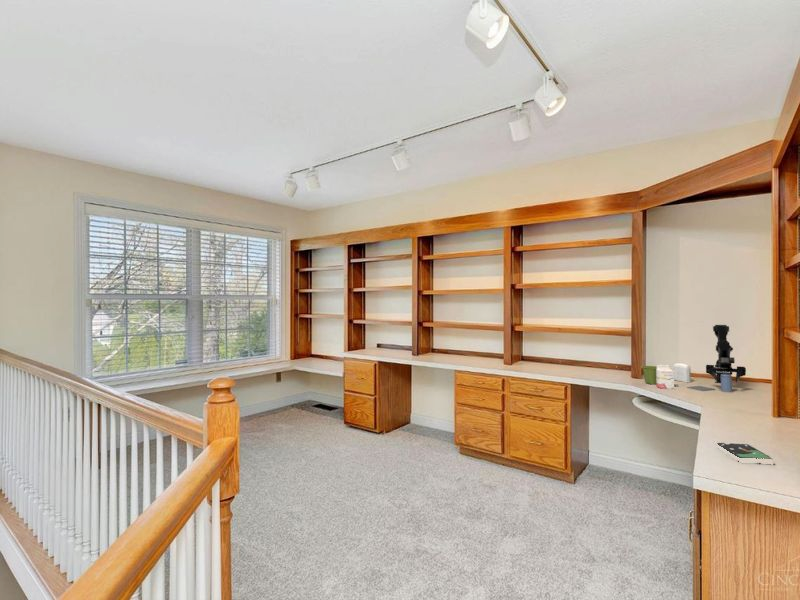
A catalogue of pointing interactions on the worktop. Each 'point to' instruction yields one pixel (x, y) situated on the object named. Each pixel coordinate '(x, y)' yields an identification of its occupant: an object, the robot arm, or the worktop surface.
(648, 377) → the plant pot
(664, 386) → the ink cartridge box
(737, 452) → the disk drive
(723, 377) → the domed octagonal peg
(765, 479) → the worktop surface
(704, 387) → the rubber mat
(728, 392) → the terracotta saucer
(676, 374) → the photo printer
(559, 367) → the worktop surface
